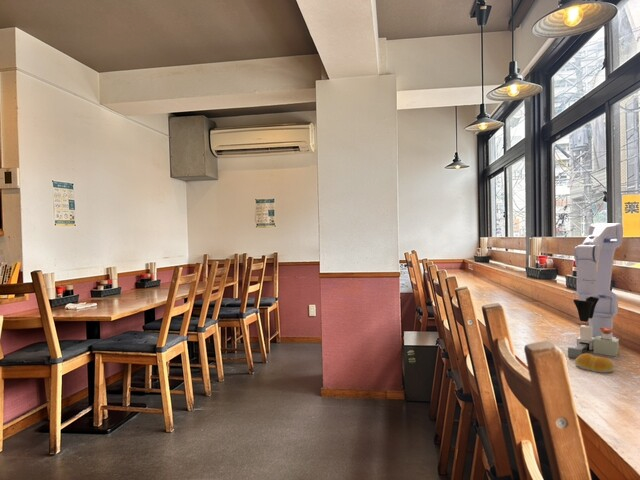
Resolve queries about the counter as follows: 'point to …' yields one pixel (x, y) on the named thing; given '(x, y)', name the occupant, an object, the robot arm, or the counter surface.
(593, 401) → the counter surface
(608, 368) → the bread roll
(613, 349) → the box
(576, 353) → the rail
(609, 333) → the red push knob
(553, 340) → the counter surface
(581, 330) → the carriage
